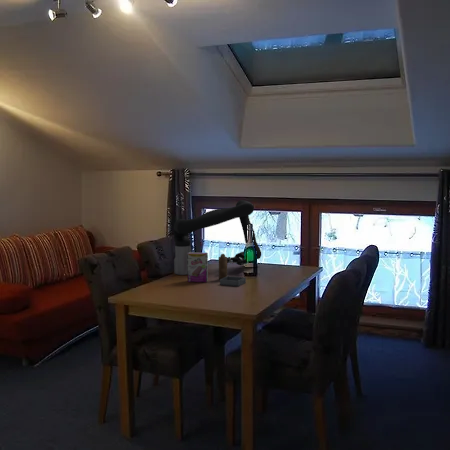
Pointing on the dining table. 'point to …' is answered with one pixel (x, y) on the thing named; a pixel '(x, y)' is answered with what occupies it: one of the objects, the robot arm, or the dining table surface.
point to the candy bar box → (197, 267)
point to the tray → (232, 281)
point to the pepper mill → (222, 266)
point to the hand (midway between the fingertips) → (231, 262)
